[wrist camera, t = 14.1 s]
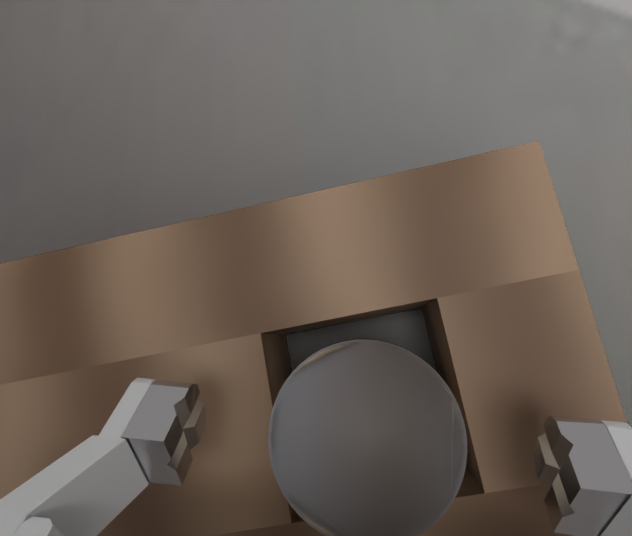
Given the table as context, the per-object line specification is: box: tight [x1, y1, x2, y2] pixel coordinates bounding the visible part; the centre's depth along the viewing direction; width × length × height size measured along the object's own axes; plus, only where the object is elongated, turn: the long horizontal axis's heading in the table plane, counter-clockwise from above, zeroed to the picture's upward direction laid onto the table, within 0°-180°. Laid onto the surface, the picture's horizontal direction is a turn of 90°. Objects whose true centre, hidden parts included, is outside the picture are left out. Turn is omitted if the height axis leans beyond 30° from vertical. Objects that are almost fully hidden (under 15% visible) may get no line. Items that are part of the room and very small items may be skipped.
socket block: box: [0, 141, 627, 536], centre depth 15 cm, size 20×14×4 cm
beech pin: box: [268, 340, 467, 536], centre depth 13 cm, size 4×4×8 cm
